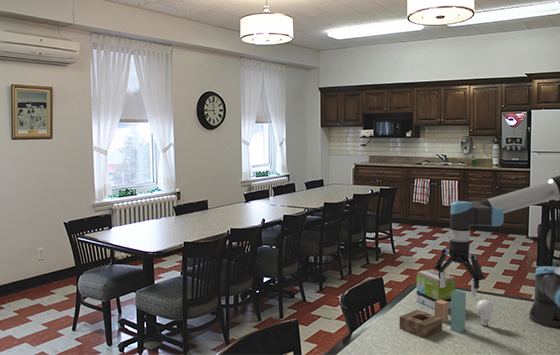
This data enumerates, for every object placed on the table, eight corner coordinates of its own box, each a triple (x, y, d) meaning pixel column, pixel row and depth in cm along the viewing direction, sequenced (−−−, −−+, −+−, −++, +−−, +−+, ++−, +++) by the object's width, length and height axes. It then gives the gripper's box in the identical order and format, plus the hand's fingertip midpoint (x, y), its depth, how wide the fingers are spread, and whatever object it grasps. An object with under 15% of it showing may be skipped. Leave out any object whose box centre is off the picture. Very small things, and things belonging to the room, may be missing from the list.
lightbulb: (483, 329, 187) (484, 303, 186) (472, 323, 194) (473, 298, 193) (496, 327, 189) (497, 301, 188) (485, 321, 195) (486, 296, 194)
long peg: (464, 329, 187) (465, 291, 186) (459, 332, 185) (460, 293, 184) (455, 326, 190) (456, 289, 189) (450, 329, 188) (451, 291, 187)
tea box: (415, 301, 221) (416, 271, 219) (431, 298, 225) (432, 268, 224) (438, 311, 207) (439, 279, 206) (455, 308, 211) (455, 276, 210)
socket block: (442, 329, 188) (442, 317, 187) (424, 338, 180) (425, 325, 180) (416, 320, 197) (416, 309, 197) (399, 328, 190) (399, 316, 189)
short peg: (448, 320, 198) (448, 301, 197) (442, 322, 195) (443, 304, 194) (439, 317, 201) (440, 299, 200) (434, 319, 198) (434, 301, 198)
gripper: (427, 235, 192) (425, 285, 194) (485, 247, 173) (482, 302, 174) (437, 233, 197) (435, 282, 198) (495, 244, 177) (492, 297, 179)
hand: (457, 291), depth 186 cm, fingers open, 13 cm apart
